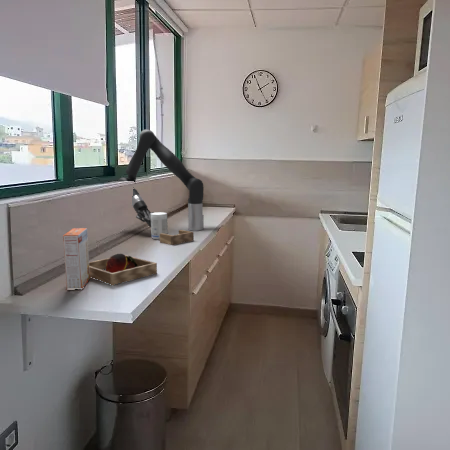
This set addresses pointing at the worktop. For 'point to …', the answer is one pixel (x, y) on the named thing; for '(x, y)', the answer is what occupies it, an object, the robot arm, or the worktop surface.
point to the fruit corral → (139, 271)
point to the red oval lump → (120, 263)
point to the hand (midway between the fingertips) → (152, 226)
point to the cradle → (177, 237)
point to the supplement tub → (158, 224)
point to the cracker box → (76, 257)
